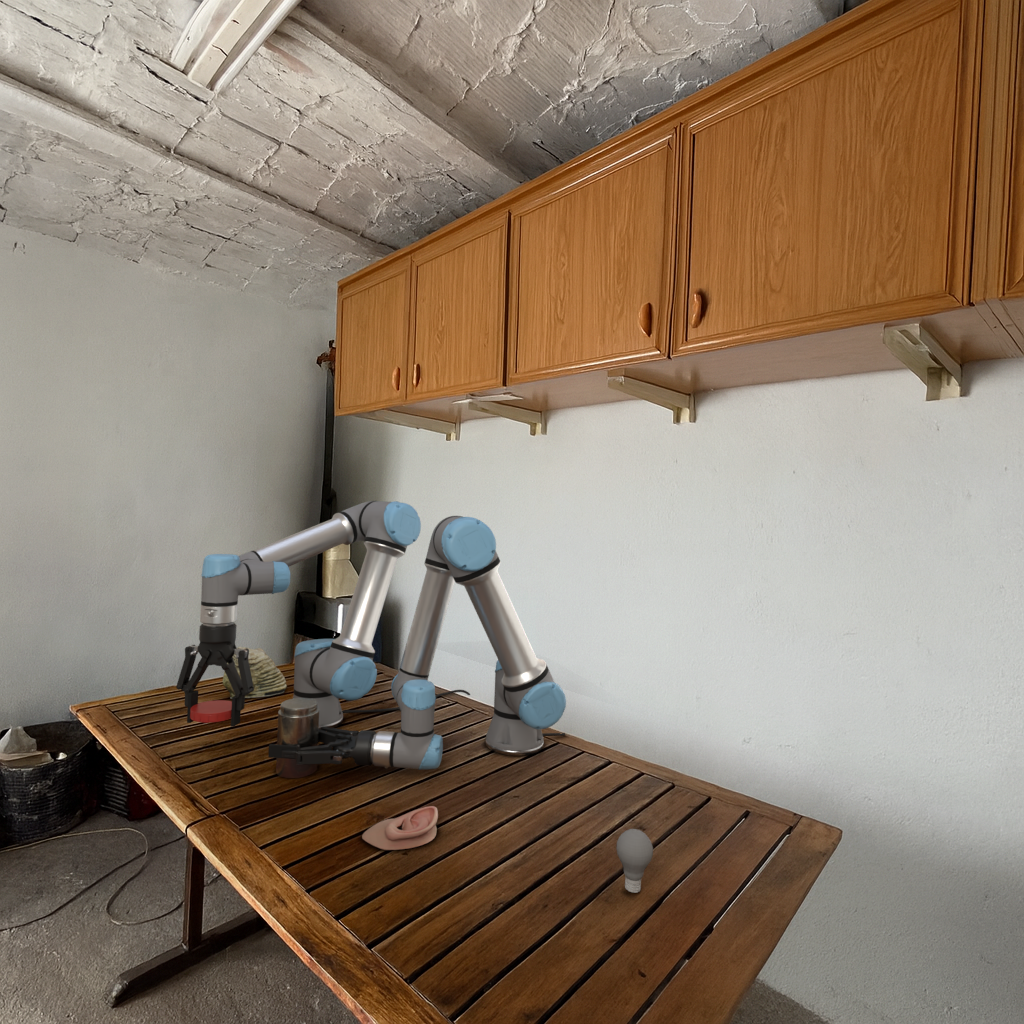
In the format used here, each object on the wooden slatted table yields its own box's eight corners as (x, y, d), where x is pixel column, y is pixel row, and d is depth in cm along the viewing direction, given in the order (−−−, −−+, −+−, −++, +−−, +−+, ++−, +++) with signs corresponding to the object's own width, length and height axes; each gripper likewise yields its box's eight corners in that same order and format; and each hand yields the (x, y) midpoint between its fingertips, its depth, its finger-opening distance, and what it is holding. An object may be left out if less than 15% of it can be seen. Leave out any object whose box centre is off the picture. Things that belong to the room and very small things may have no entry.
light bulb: (610, 879, 108) (613, 822, 108) (644, 879, 109) (647, 822, 109) (619, 902, 102) (622, 840, 102) (655, 901, 103) (658, 840, 103)
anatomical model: (355, 823, 115) (380, 795, 127) (354, 845, 116) (380, 815, 127) (424, 834, 113) (444, 804, 124) (423, 856, 113) (443, 824, 124)
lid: (180, 720, 138) (180, 711, 138) (205, 707, 147) (205, 698, 147) (222, 724, 137) (223, 715, 137) (244, 710, 147) (245, 701, 146)
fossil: (218, 695, 195) (220, 647, 195) (278, 685, 208) (279, 640, 207) (228, 703, 189) (230, 653, 188) (289, 692, 201) (290, 645, 201)
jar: (270, 778, 141) (273, 709, 141) (282, 761, 150) (285, 696, 150) (311, 778, 142) (314, 710, 142) (321, 762, 151) (323, 697, 151)
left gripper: (160, 623, 139) (156, 724, 139) (258, 629, 137) (253, 732, 138) (181, 617, 147) (176, 713, 147) (273, 623, 145) (268, 720, 145)
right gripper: (360, 785, 134) (256, 779, 136) (385, 746, 156) (296, 740, 157) (361, 750, 134) (257, 744, 135) (386, 716, 156) (297, 710, 157)
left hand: (213, 722), depth 142 cm, fingers closed on lid, 9 cm apart
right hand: (278, 742), depth 146 cm, fingers closed on jar, 9 cm apart
